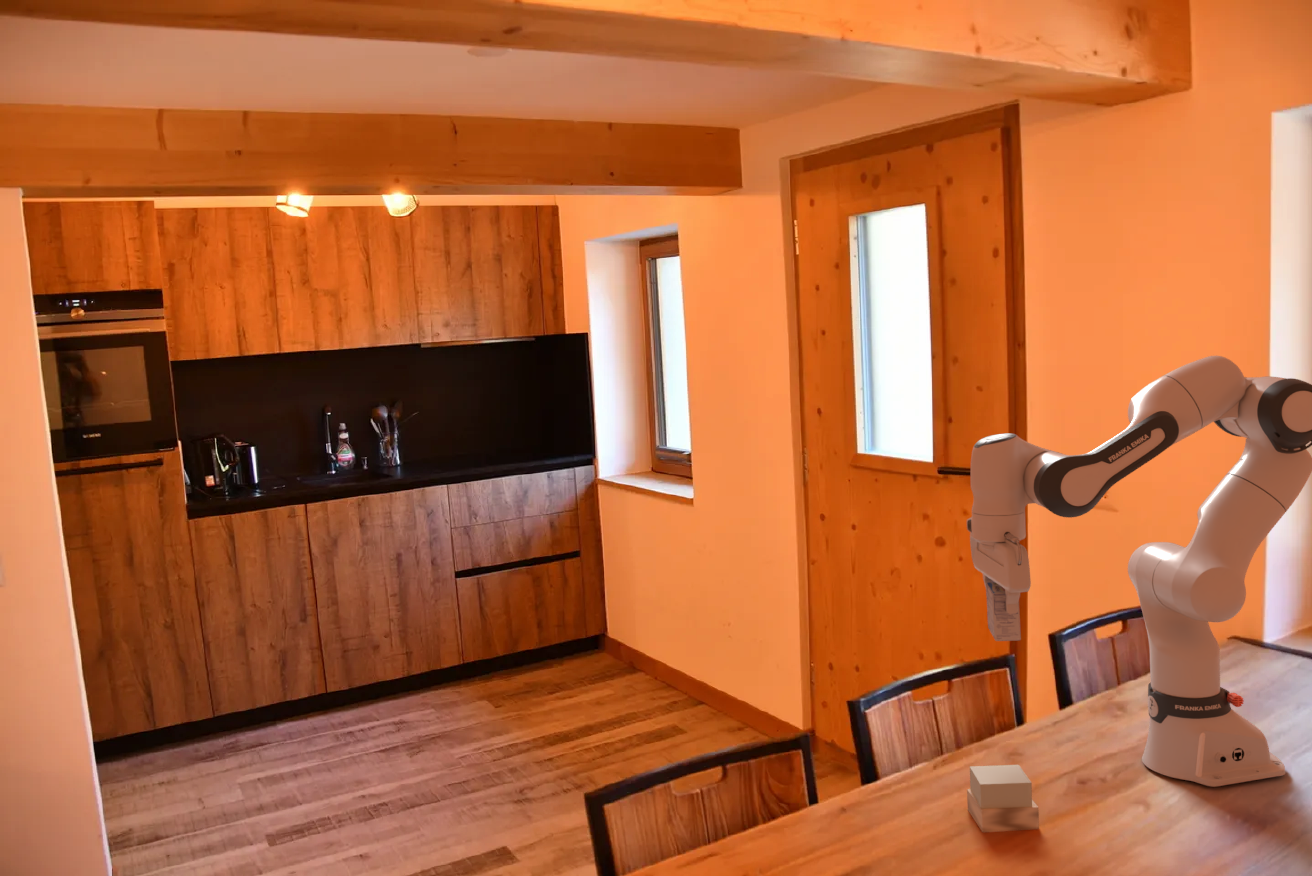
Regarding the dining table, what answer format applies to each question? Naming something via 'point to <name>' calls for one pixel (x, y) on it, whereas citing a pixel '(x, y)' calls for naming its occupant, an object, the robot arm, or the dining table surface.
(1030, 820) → the tower base
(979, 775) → the tower top
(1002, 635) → the medicine box
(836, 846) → the dining table surface
